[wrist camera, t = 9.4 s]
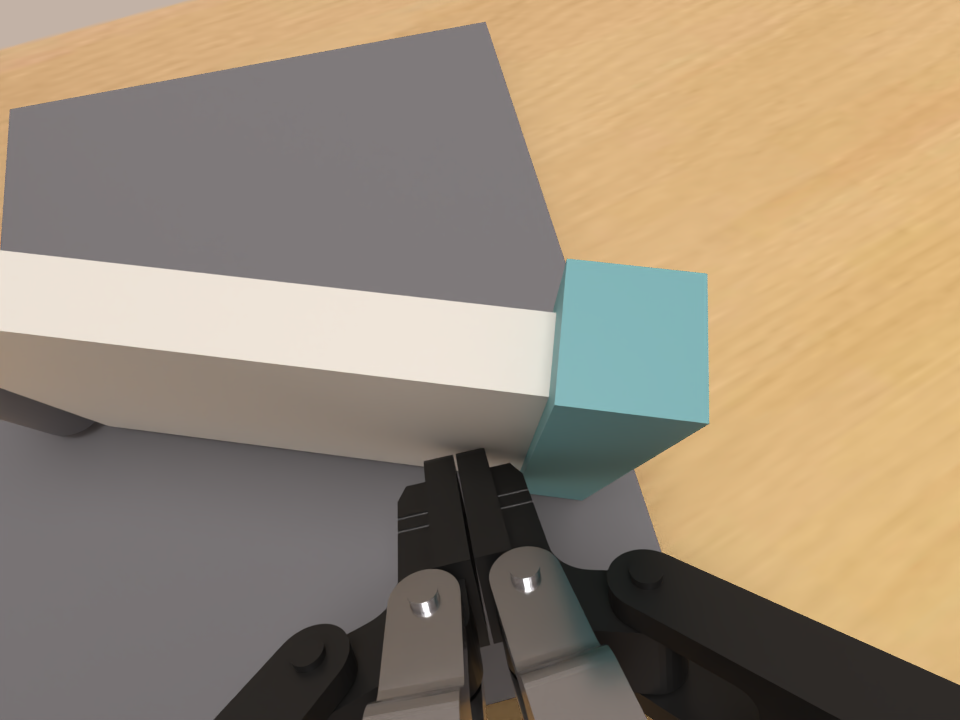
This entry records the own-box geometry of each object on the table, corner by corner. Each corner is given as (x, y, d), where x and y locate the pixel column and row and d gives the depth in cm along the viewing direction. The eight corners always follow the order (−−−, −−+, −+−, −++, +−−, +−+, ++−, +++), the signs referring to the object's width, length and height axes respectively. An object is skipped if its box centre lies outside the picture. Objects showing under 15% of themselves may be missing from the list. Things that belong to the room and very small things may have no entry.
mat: (-8, 831, 15) (-41, 849, 14) (29, 127, 23) (10, 109, 22) (681, 643, 17) (693, 648, 16) (485, 42, 25) (485, 22, 24)
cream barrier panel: (21, 431, 17) (-526, 280, 8) (51, 360, 18) (-414, 148, 9) (581, 503, 16) (709, 431, 7) (586, 425, 17) (707, 267, 8)
